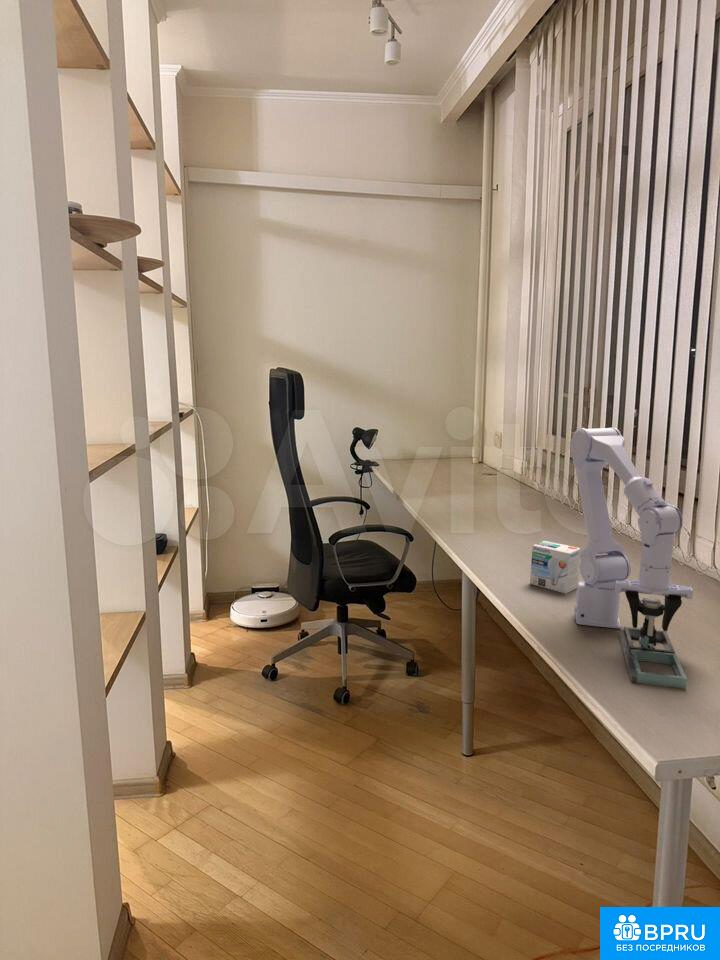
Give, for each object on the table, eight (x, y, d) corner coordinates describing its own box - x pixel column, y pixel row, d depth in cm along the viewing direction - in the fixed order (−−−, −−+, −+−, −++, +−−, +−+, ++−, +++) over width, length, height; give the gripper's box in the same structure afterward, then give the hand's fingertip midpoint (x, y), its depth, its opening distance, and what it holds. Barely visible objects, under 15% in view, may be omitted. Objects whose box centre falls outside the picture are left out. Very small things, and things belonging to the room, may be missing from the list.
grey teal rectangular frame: (631, 682, 130) (631, 672, 129) (618, 635, 151) (619, 626, 151) (685, 688, 128) (686, 678, 127) (665, 640, 149) (666, 631, 149)
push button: (665, 655, 141) (670, 608, 139) (637, 652, 142) (642, 606, 140) (657, 641, 148) (662, 596, 146) (630, 639, 149) (635, 594, 147)
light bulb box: (528, 584, 183) (531, 544, 181) (541, 578, 188) (544, 539, 186) (566, 594, 176) (569, 553, 174) (578, 587, 181) (581, 547, 179)
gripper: (619, 567, 139) (614, 631, 142) (698, 574, 136) (691, 639, 139) (616, 557, 146) (610, 618, 149) (691, 563, 143) (684, 625, 145)
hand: (649, 627), depth 144 cm, fingers closed on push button, 5 cm apart
